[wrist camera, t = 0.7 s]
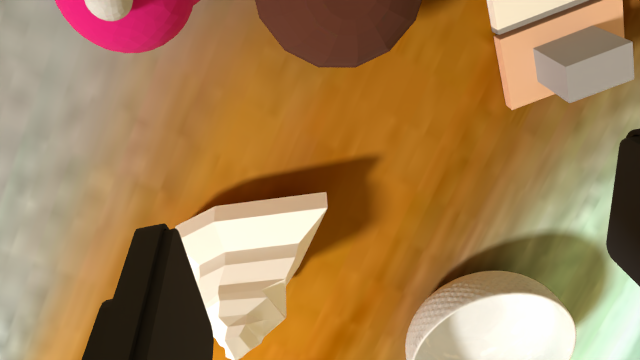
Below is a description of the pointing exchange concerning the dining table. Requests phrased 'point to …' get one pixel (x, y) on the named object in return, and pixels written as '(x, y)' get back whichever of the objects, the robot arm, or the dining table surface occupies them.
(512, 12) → the base
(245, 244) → the soft serve ice cream
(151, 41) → the pepper mill
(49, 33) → the dining table surface
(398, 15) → the muffin
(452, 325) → the cereal bowl
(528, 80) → the pink base grey block
